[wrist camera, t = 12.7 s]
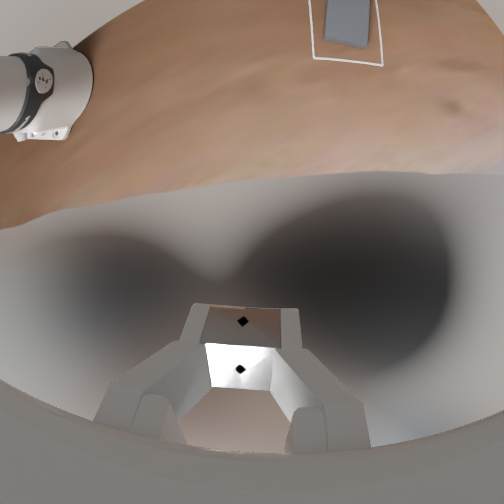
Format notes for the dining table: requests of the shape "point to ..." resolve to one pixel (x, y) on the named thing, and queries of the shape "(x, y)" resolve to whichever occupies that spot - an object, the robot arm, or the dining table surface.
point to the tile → (347, 22)
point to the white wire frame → (345, 59)
